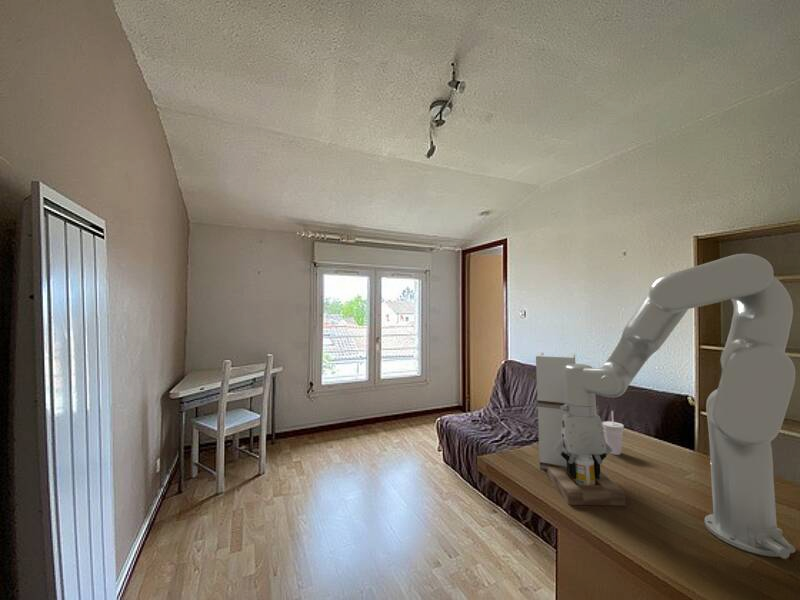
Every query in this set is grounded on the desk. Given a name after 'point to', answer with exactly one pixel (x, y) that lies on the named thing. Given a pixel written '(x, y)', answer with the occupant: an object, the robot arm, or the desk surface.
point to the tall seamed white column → (550, 406)
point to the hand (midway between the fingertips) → (583, 476)
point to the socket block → (586, 489)
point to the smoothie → (613, 435)
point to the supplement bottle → (584, 470)
